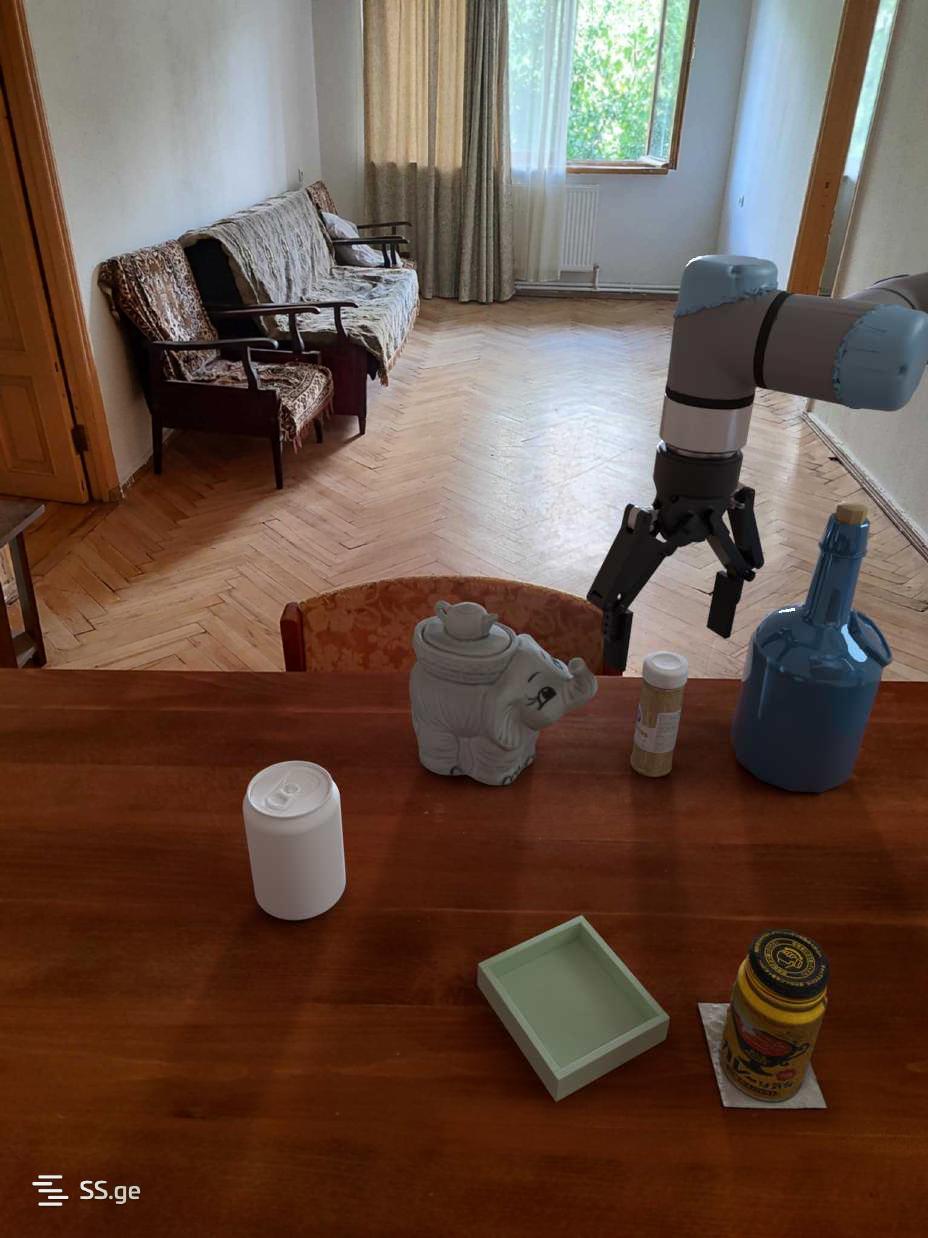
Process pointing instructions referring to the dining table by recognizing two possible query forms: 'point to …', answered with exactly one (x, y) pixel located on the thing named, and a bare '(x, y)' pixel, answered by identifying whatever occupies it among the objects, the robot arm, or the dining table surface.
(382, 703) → the dining table surface
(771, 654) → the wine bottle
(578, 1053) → the tray
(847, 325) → the robot arm
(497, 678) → the elephant cookie jar
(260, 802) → the beverage can
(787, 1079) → the condiment
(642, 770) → the sprinkles bottle
